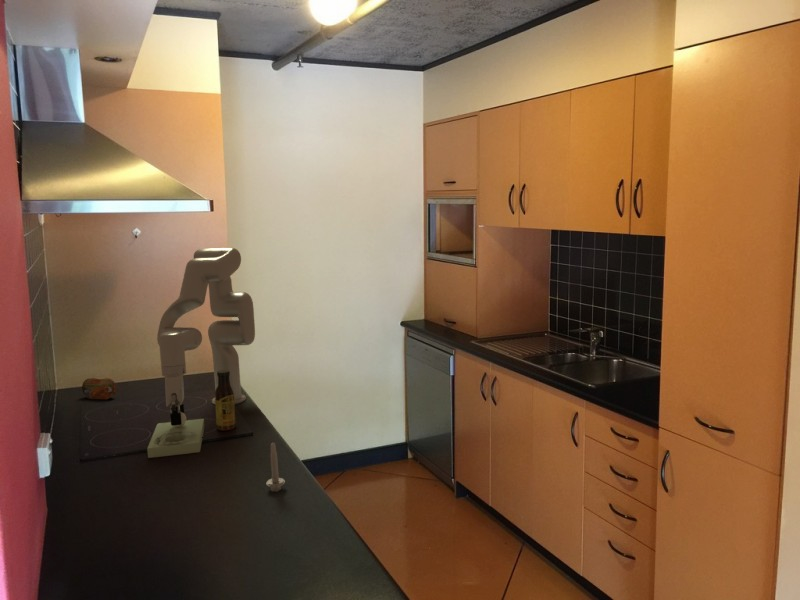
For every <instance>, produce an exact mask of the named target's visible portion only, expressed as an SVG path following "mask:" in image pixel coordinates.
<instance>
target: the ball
mask: <svg viewBox="0 0 800 600" xmlns="http://www.w3.org/2000/svg"><path fill="white" fill-rule="evenodd" d="M186 420H187V416H186V414H185V412H184V413H182V412H181V421H182V424H181V425H174V426H175V427H181V426H183V425H184V424H185V423H186ZM169 422H171V418H170V421H169Z"/></svg>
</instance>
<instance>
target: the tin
mask: <svg viewBox="0 0 800 600" xmlns="http://www.w3.org/2000/svg"><path fill="white" fill-rule="evenodd" d="M81 390H82V393H83V395H84V396H85V397H86V398H88V399H90V400H109V399H112V398H113V397H114V396H115V395H116V393H117V385H116V383H115V381H114V380H113V379H112V378H106V377H105V378H103V377H90V378H86V379H85V380H84V381H83V382H82V385H81Z"/></svg>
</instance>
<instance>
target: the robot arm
mask: <svg viewBox="0 0 800 600" xmlns="http://www.w3.org/2000/svg"><path fill="white" fill-rule="evenodd" d="M241 262H242V255H241V252H240V251H239V250H238V249H237V248H234V247H206V248H205V247H204V248H199V249H196V250H195V251H194V253H193V258H192V259H190V260H189V261H188V262H187V263H186V266H185V269H184V274H183V279H182V283H181V287H180V291H179V296H178V298H177V299H176V300H175V301H173V302H172V303H171V304H170V305H169V306H168V307H167V309H166V310H165V311H164V313H163V314H162V317H160V320H159V325H158V329H157V337H156V339H157V344H158V346H159V355H160V366H161V376H162V377H165V378H164V389H165V390H164V391H165V406H166V407H168V408H169V406H170V411H169V412H170V413H169V416H170V417H169V418H170V419H171V421H170V422H171V425H172V426H174V425H181V424H182V421H181V412H182V413H184V414H185V406H184V405H185V404H184V399H185V385H184V375H185V374H187V367H186V351H193V350H196V349H198V348H199V347H200V345H201V344H202V341H203V335H202V332H201V331H200V330H199V329H198V328H196V327H180V326H179V327H175V324H176V323H177V321H178V320H179V319H180V318H181V317H183V315H185V314H188V313H189V312H192V311H193V310H195V309H198V308H199V307H201V306H203V305H204V303H205V301H206V296H207V292H208V294H209V295H208V296H209V305H210V311H211V314H212V316H214V317H217V318H237V319H238V320H236V319H235V320H233V319H231V320H227V319H225V320H224V319H223V320H222V319H221V320H216V321H213V322H212V323H211V324H209V326H208V328H207V334H208V335H207V336H208V339H209V342H210V343H209V344H210V347H211V351H212V352H211V353H212V363H213V378H214V387H215V388H214V389H215V391H216V388H217V387H218V376H217V372H218V371H221V370H229V371H230V375H229V380H230V386H231V388H232V390H233V393H234V404H235V405H238V404H240V403H243V402H244V401H245V400H246V398H247V397H246V395H245V394H243V393H242V389H241V388H242V385H241V375H240V374H241V373H240V372H241V371H240V360H239V354H238V352H237V349H236V348H235V347H234V346H250V345H251V344H253V342H254V341H255V339H256V338H255V337H256V328H255V327H256V326H255V312H254V310H255V309H254V308H255V307H254V302H253V298H252V297H251V295H250V294H249V293H248V292H244V291H234V290H233V286H232V285H233V284H232V278H231V276H232V275H234V273H236V271H237V270H238V269H239V268H240V267H241ZM211 403H212V404H213V405H215V397H213V398H212V400H211Z"/></svg>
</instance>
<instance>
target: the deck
mask: <svg viewBox="0 0 800 600" xmlns="http://www.w3.org/2000/svg"><path fill="white" fill-rule="evenodd" d="M205 426H206V425H205V419H204V418H197V419H188V420H187V419H186V423H185V424H184V425H183V426H181V427H175V426H172V425H171V421H168V422H159V423H157V424H156V426H155V429H154V430H153V434H152V436H151V437H150V441H149V444H148V446H147V447H146V448H147V449H146V450H147V458H148V459H150V458H160V457H168V456H177V455H185V454H194V453H200V452H201V448H202V443H203V438H204V431H205ZM202 437H203V438H202Z"/></svg>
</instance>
